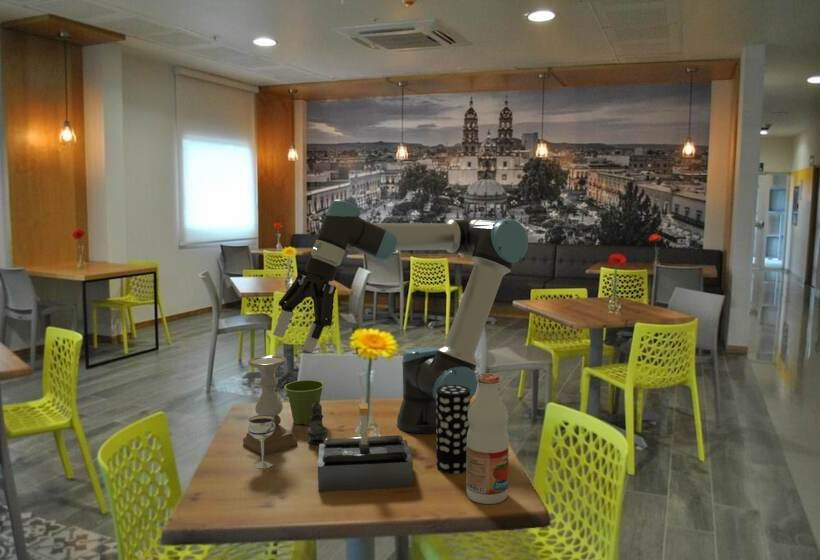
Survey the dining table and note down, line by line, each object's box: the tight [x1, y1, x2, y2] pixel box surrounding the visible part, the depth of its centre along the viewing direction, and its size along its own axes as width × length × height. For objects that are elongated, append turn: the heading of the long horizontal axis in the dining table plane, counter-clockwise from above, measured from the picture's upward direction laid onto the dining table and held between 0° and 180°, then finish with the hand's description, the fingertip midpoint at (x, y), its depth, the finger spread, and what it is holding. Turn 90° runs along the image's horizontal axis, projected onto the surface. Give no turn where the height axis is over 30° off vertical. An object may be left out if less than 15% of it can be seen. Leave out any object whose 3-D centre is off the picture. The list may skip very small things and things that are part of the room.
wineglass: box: [247, 414, 275, 470], centre depth 169 cm, size 7×7×12 cm
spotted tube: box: [435, 385, 471, 474], centre depth 166 cm, size 8×8×20 cm
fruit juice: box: [465, 373, 510, 505], centre depth 150 cm, size 9×9×28 cm
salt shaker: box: [306, 400, 329, 447], centre depth 184 cm, size 6×6×12 cm
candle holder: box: [242, 355, 298, 456], centre depth 181 cm, size 11×11×24 cm
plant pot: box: [283, 379, 325, 426], centre depth 200 cm, size 12×12×11 cm
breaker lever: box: [358, 402, 370, 454], centre depth 161 cm, size 2×4×11 cm, turn 6°
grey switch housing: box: [317, 435, 414, 492], centre depth 162 cm, size 22×14×8 cm, turn 96°
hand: (292, 343), depth 161 cm, fingers open, 13 cm apart
